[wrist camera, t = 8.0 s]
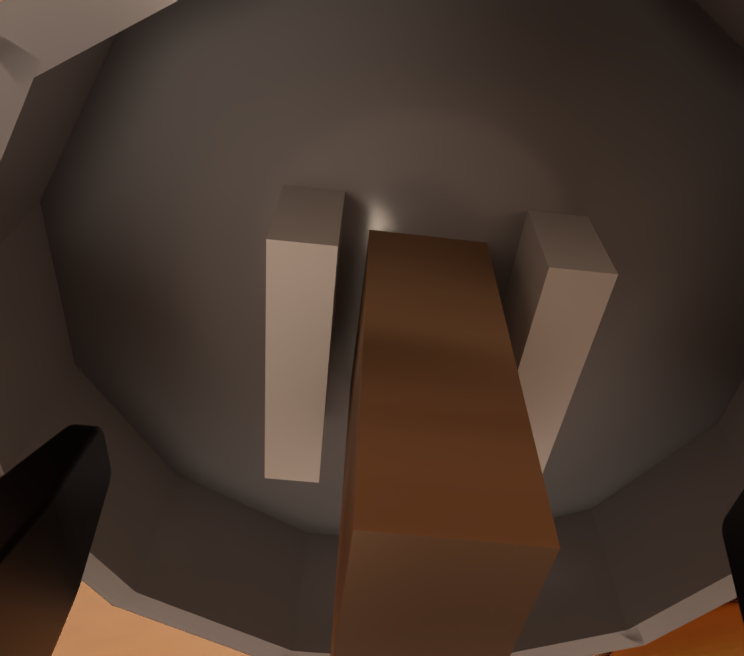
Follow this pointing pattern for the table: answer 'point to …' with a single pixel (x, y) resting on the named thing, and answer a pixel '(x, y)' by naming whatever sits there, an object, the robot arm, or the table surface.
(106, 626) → the table surface
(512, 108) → the dish
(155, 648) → the table surface
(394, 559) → the wooden rectangular block
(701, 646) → the ornamental finial
